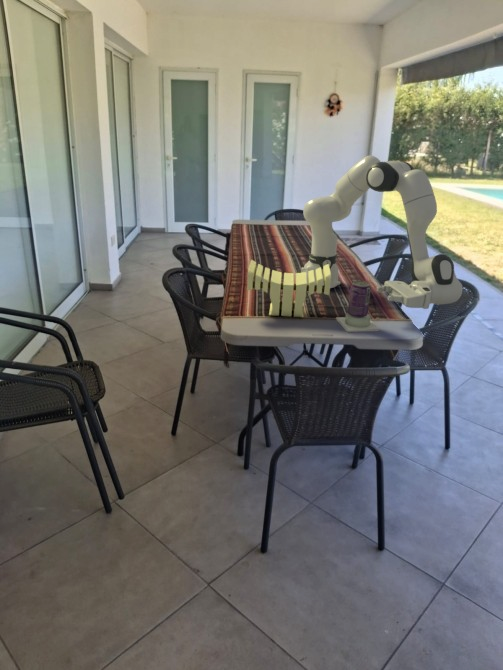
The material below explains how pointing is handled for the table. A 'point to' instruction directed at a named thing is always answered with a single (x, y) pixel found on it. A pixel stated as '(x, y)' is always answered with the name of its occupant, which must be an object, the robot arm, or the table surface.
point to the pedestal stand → (357, 323)
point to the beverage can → (359, 299)
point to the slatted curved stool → (288, 287)
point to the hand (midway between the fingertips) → (382, 293)
